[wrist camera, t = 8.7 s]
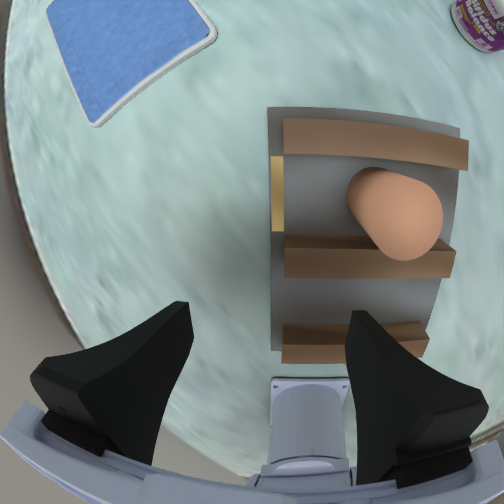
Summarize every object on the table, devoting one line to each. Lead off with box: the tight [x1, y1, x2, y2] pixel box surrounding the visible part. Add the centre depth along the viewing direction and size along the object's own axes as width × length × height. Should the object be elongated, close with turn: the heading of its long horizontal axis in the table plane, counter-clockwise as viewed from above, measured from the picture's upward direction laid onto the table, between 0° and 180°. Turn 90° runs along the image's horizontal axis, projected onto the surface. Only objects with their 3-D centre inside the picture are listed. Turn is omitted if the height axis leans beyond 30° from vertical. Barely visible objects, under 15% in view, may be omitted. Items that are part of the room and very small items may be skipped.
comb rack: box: [267, 107, 469, 364], centre depth 18 cm, size 19×14×4 cm
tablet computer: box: [45, 0, 217, 128], centre depth 14 cm, size 19×13×1 cm, turn 29°
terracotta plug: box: [346, 167, 443, 261], centre depth 14 cm, size 4×4×6 cm
